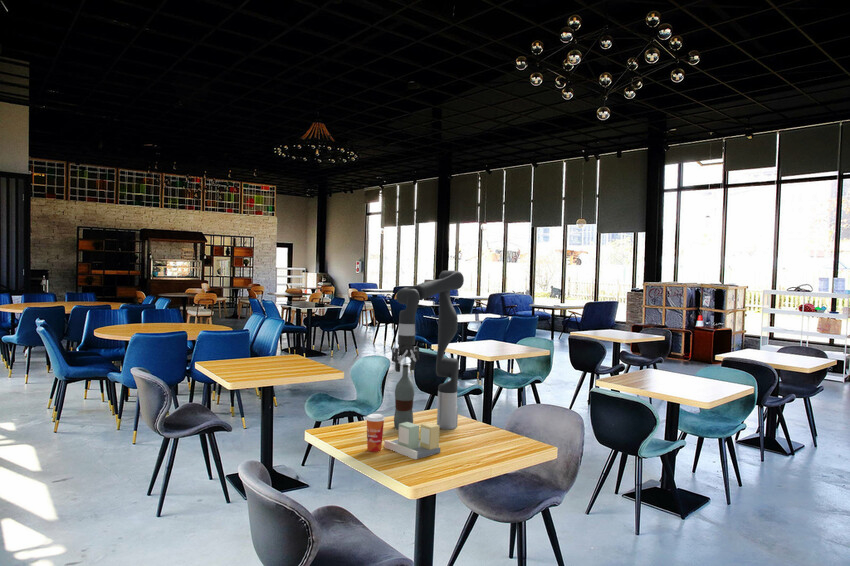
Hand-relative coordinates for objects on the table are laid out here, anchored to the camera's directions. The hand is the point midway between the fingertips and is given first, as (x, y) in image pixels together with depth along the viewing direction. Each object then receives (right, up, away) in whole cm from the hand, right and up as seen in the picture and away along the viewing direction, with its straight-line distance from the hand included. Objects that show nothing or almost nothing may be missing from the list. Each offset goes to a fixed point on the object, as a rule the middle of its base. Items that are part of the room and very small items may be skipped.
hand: (405, 370), depth 236 cm
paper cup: (-12, -30, -16) cm, 36 cm away
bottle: (-2, -30, +18) cm, 35 cm away
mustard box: (+10, -29, -16) cm, 34 cm away
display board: (+4, -30, -14) cm, 34 cm away
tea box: (+2, -28, -17) cm, 33 cm away
